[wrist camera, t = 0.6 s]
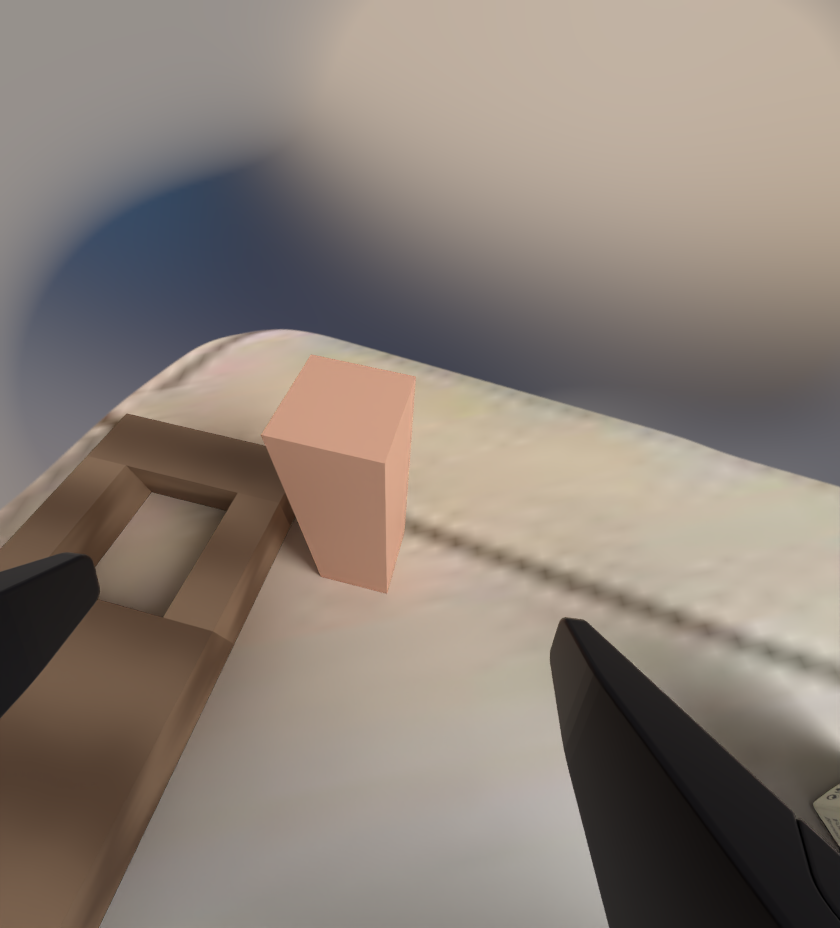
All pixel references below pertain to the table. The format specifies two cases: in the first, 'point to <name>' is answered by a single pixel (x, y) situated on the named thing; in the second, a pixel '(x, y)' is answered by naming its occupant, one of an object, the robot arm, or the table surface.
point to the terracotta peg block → (346, 465)
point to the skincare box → (830, 811)
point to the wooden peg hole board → (124, 666)
